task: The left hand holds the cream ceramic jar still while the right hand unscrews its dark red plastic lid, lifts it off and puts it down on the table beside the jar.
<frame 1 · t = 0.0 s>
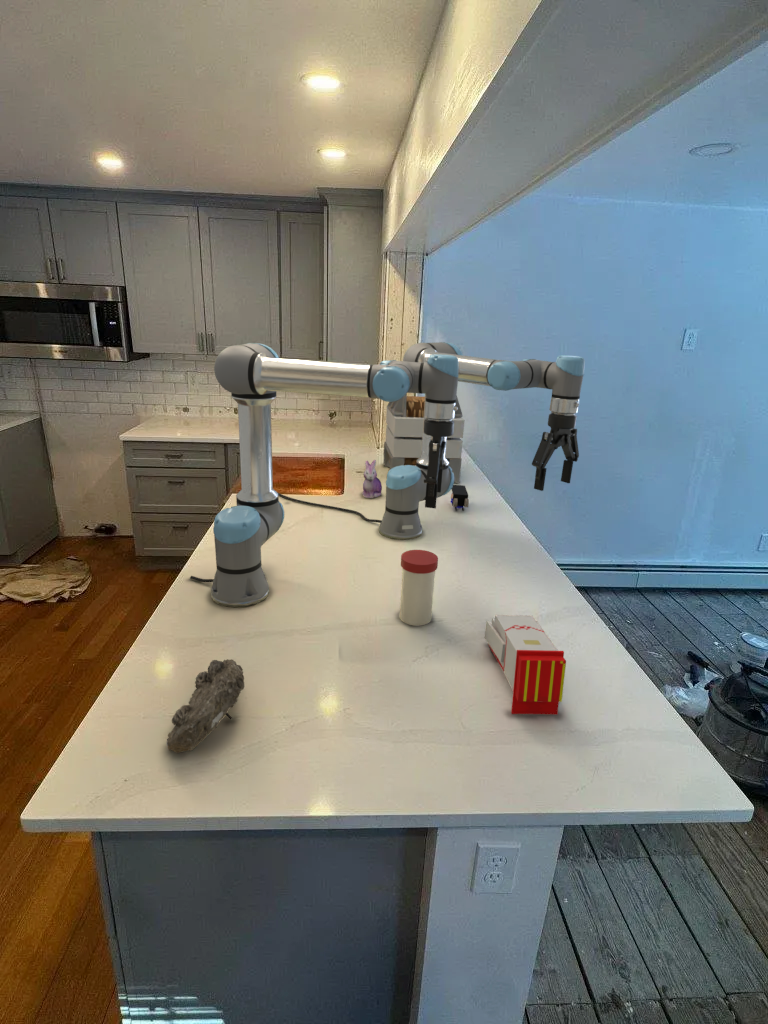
left hand: (433, 499, 149), 28 cm above the counter, tool pointing down, fingers open, 13 cm apart
right hand: (552, 485, 166), 28 cm above the counter, tool pointing down, fingers open, 13 cm apart
grey slatted crate: (419, 473, 275), on the counter
toy: (516, 673, 125), on the counter
fossil: (212, 717, 108), on the counter
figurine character: (458, 507, 230), on the counter
lid: (419, 558, 141), point 17 cm above the counter, screwed on, not yet turned
figurine: (371, 495, 239), on the counter
jar: (415, 617, 146), on the counter
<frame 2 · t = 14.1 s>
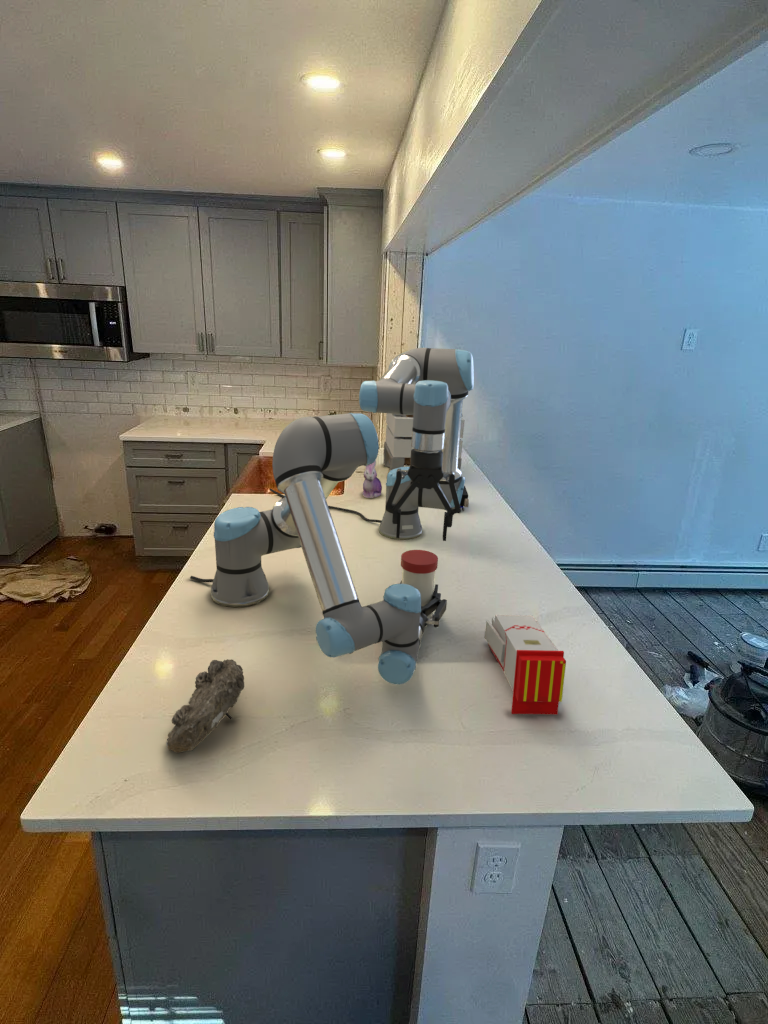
left hand: (419, 586, 149), 6 cm above the counter, tool horizontal, fingers closed on jar, 8 cm apart
right hand: (421, 537, 139), 22 cm above the counter, tool pointing down, fingers open, 11 cm apart
jar: (415, 617, 146), on the counter, touching left hand
everything else where it was.
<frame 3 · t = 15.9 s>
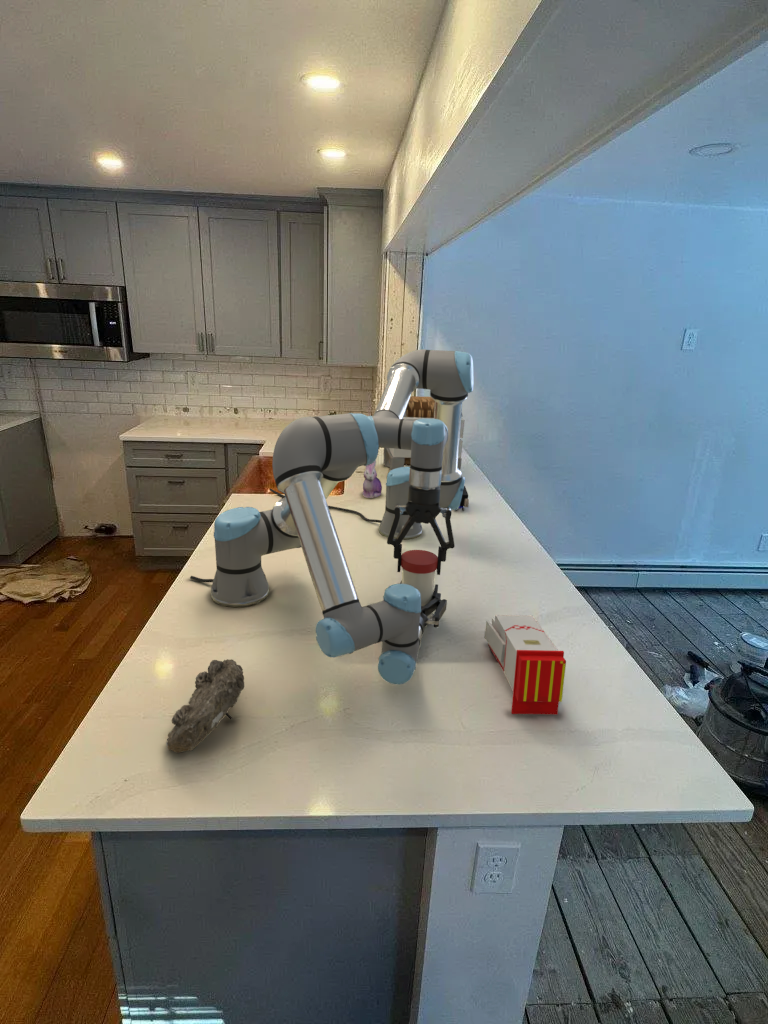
left hand: (419, 586, 149), 6 cm above the counter, tool horizontal, fingers closed on jar, 8 cm apart
right hand: (418, 571, 142), 13 cm above the counter, tool pointing down, fingers closed on lid, 9 cm apart
lid: (419, 558, 141), point 17 cm above the counter, screwed on, not yet turned, touching right hand
jar: (415, 617, 146), on the counter, touching left hand
everything else where it was.
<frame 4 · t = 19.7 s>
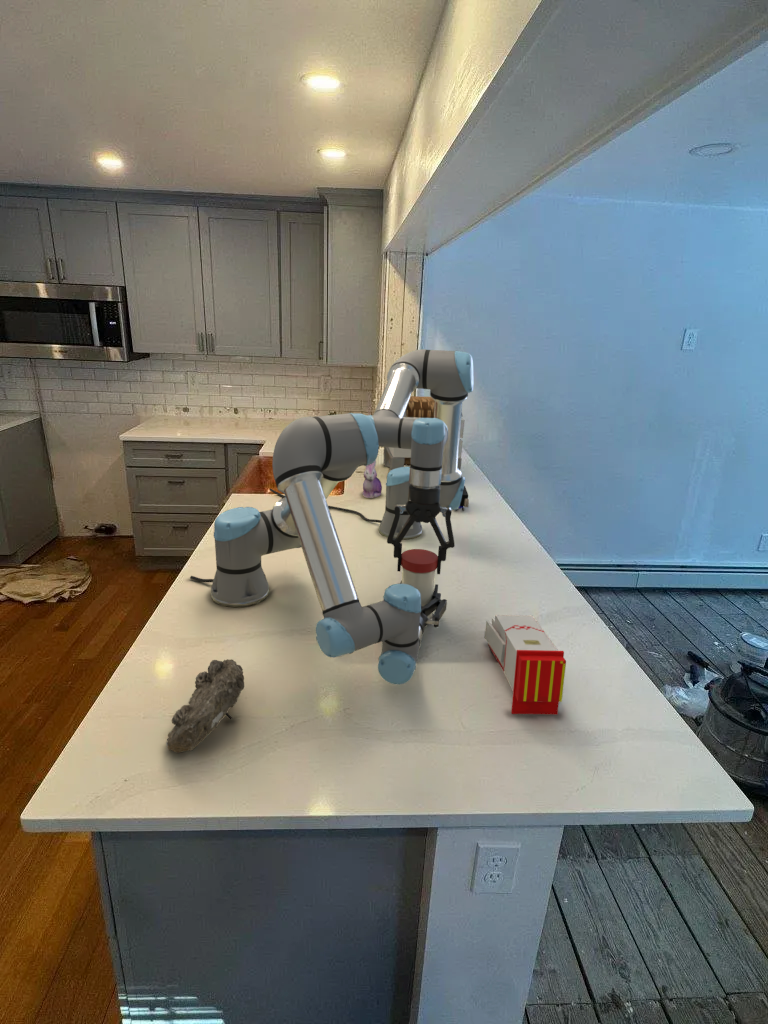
left hand: (419, 586, 149), 6 cm above the counter, tool horizontal, fingers closed on jar, 8 cm apart
right hand: (418, 570, 142), 13 cm above the counter, tool pointing down, fingers closed on lid, 9 cm apart
lid: (419, 557, 141), point 17 cm above the counter, turned 139° so far, risen 0.2 cm, still on its thread, touching right hand
jar: (415, 617, 146), on the counter, touching left hand
everything else where it was.
when the right hand's fingers open (0 cm above the counter, at t = 34.2 s): lid drops 2 cm, point 2 cm above the counter.
when the left hand's fingers open (6 cm above the counter, at t = 35.2 s): jar stays where it is, on the counter.
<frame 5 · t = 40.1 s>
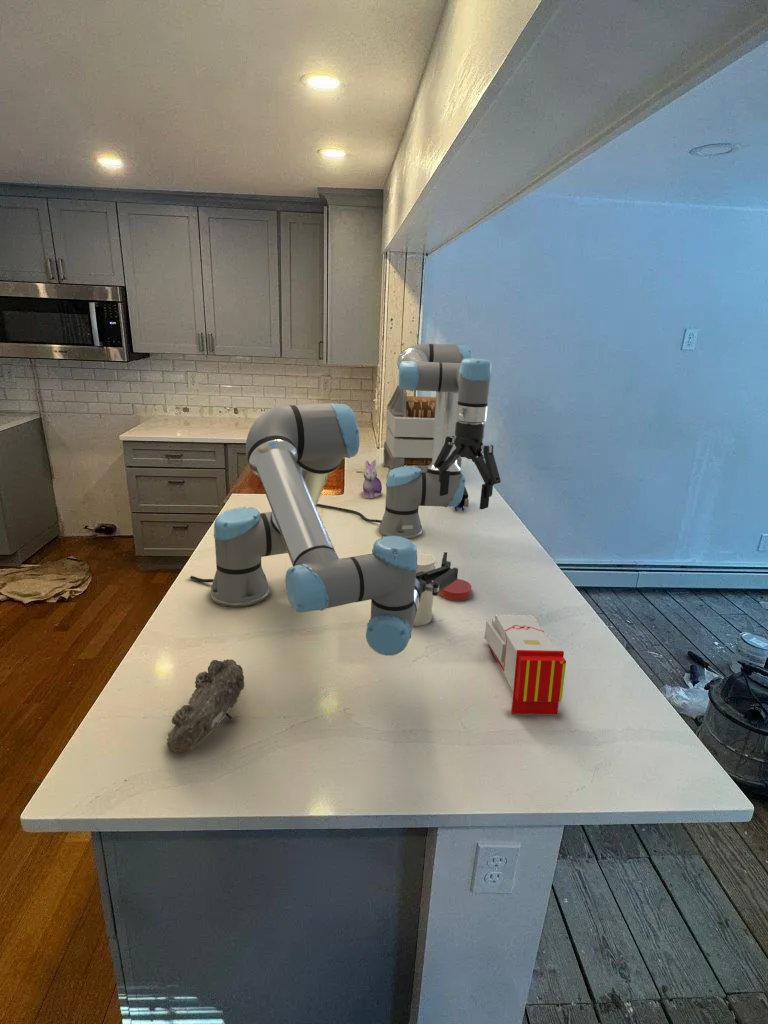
left hand: (415, 554, 129), 22 cm above the counter, tool horizontal, fingers open, 13 cm apart
right hand: (463, 501, 151), 27 cm above the counter, tool pointing down, fingers open, 13 cm apart
lid: (455, 586, 159), point 2 cm above the counter, off its thread
jar: (415, 617, 146), on the counter
everything else where it was.
at the end: lid came off its thread; lid point 2.0 cm above the counter; the left hand is holding nothing; the right hand is holding nothing; jar tilted 0°; jar moved 0.0 cm from its start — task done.
